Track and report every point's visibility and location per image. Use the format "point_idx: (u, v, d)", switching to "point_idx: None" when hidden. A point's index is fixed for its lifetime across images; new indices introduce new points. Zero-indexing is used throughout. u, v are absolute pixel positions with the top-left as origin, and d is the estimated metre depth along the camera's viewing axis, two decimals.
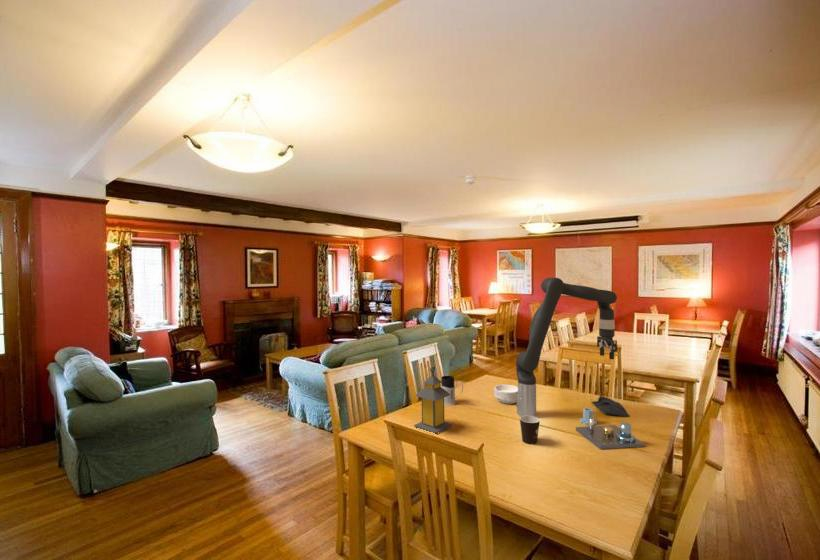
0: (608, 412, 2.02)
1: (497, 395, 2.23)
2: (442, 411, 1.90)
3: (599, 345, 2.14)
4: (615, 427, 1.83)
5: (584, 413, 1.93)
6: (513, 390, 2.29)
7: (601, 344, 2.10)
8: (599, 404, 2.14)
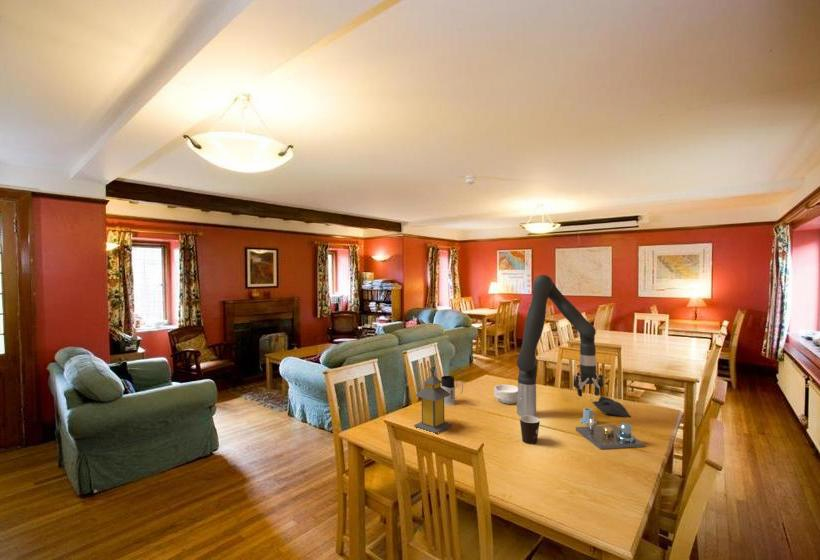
0: (609, 412, 2.02)
1: (497, 395, 2.23)
2: (442, 411, 1.90)
3: (578, 385, 1.92)
4: (615, 427, 1.83)
5: (584, 413, 1.93)
6: (513, 390, 2.29)
7: (585, 383, 1.91)
8: (600, 404, 2.13)
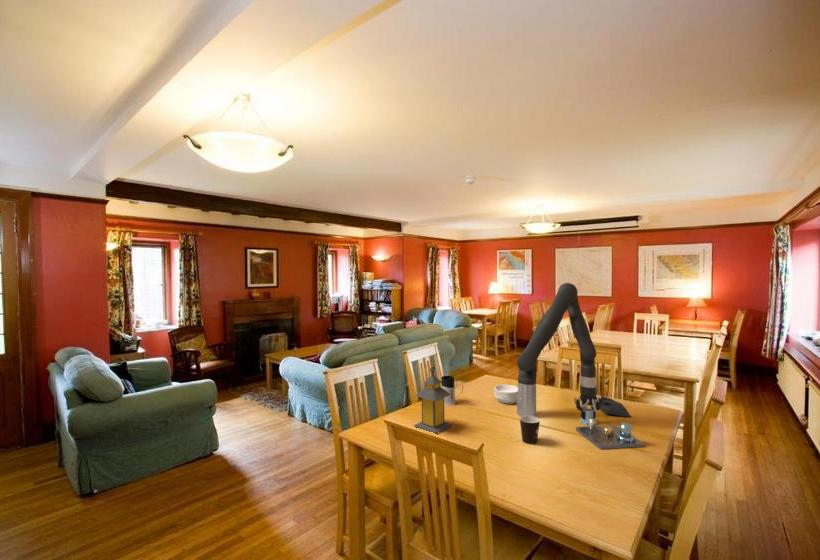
0: (609, 412, 2.01)
1: (497, 395, 2.23)
2: (442, 411, 1.90)
3: (581, 408, 1.92)
4: (615, 427, 1.83)
5: None
6: (513, 390, 2.29)
7: (587, 405, 1.91)
8: None
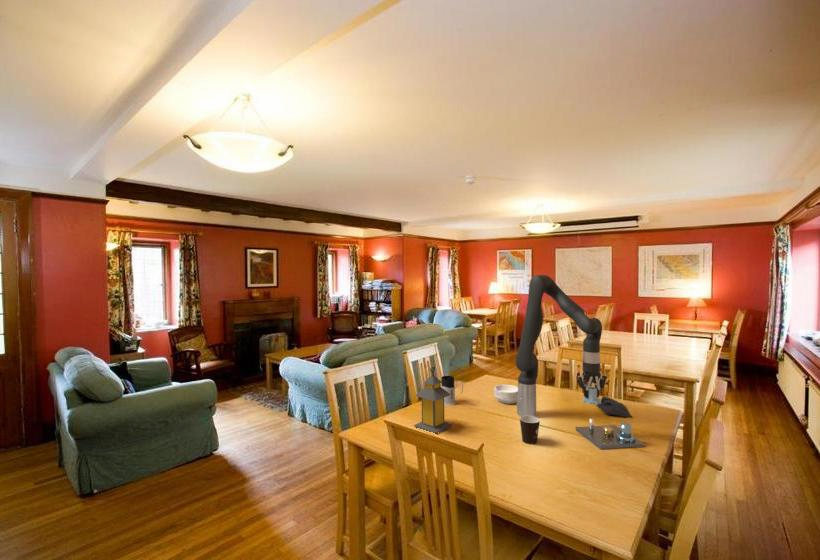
0: (610, 412, 2.01)
1: (497, 395, 2.23)
2: (442, 411, 1.90)
3: (584, 386, 1.78)
4: (615, 427, 1.83)
5: None
6: (513, 390, 2.29)
7: (590, 383, 1.78)
8: (601, 404, 2.13)
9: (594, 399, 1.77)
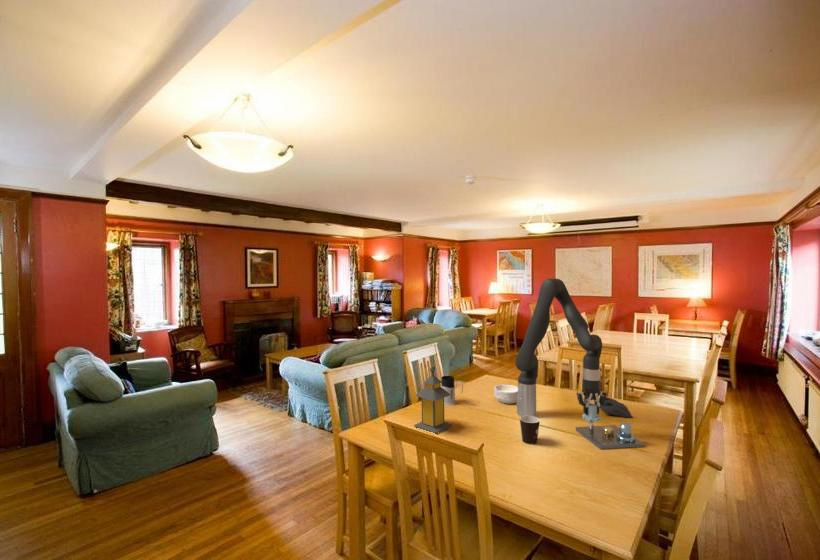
0: (610, 413, 2.01)
1: (497, 395, 2.23)
2: (442, 411, 1.90)
3: (584, 403, 1.78)
4: (615, 427, 1.83)
5: None
6: (513, 390, 2.29)
7: (590, 399, 1.78)
8: None
9: (594, 416, 1.77)
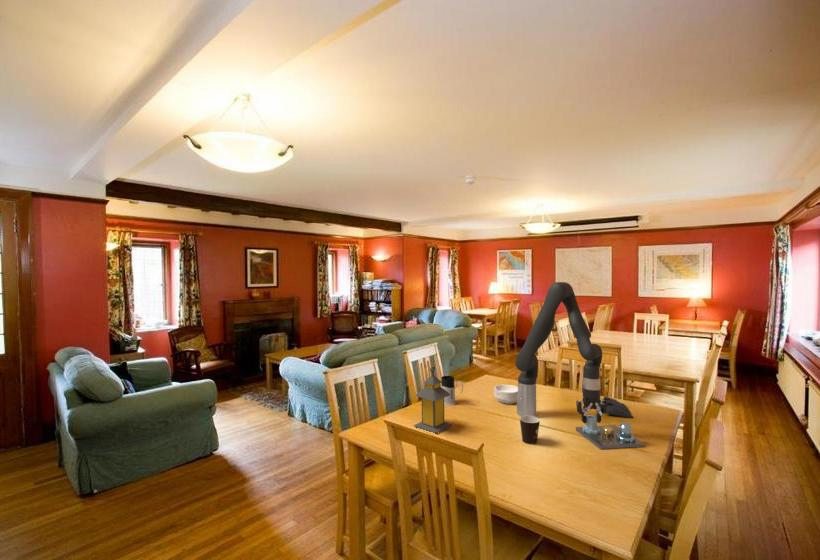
0: (611, 413, 2.01)
1: (497, 395, 2.23)
2: (442, 411, 1.90)
3: (582, 411, 1.78)
4: (615, 427, 1.83)
5: (587, 421, 1.79)
6: (513, 390, 2.29)
7: (589, 409, 1.78)
8: None
9: (594, 428, 1.77)
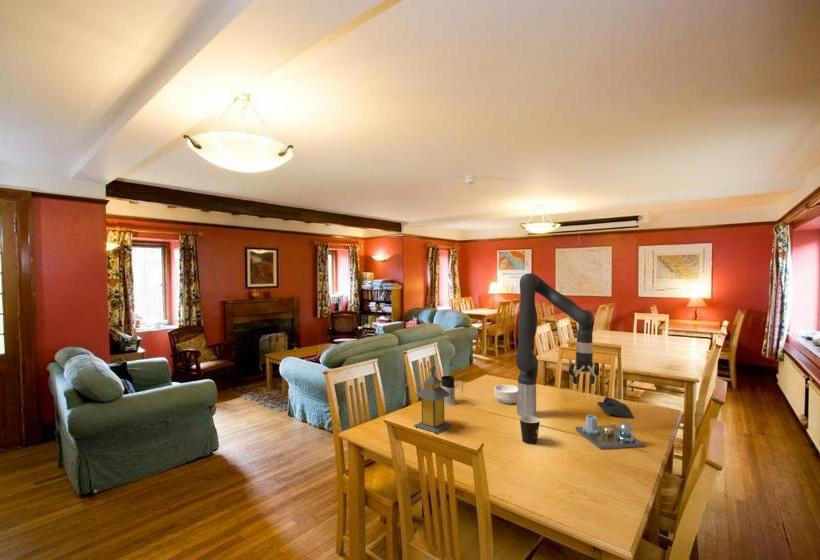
0: (612, 413, 2.01)
1: (497, 395, 2.23)
2: (442, 411, 1.90)
3: (573, 373, 1.88)
4: (615, 427, 1.83)
5: (587, 421, 1.79)
6: (513, 390, 2.29)
7: (580, 371, 1.87)
8: (604, 405, 2.12)
9: (594, 428, 1.77)
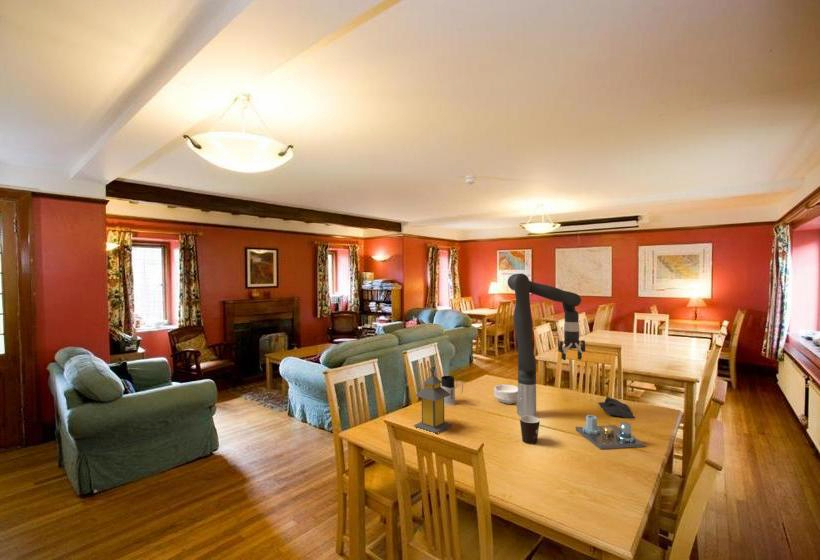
0: (612, 413, 2.00)
1: (497, 395, 2.23)
2: (442, 411, 1.90)
3: (562, 350, 2.07)
4: (615, 427, 1.83)
5: (587, 421, 1.79)
6: (513, 390, 2.29)
7: (569, 348, 2.07)
8: (605, 405, 2.12)
9: (594, 428, 1.77)
